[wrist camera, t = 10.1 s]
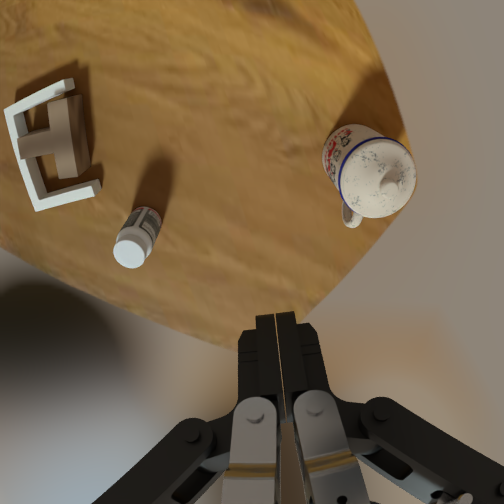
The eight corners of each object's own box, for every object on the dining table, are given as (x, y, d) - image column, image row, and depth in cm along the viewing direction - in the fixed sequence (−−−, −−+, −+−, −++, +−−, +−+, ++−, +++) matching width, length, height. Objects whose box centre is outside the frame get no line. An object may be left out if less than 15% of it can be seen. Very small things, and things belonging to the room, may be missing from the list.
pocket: (14, 106, 30) (3, 109, 28) (73, 77, 30) (63, 79, 28) (43, 204, 39) (35, 211, 37) (101, 188, 38) (94, 196, 36)
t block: (29, 107, 31) (13, 113, 27) (81, 94, 31) (66, 98, 28) (40, 173, 36) (25, 183, 33) (90, 166, 37) (78, 176, 33)
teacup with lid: (330, 112, 34) (365, 132, 25) (393, 133, 36) (441, 161, 26) (305, 199, 41) (325, 247, 31) (365, 213, 42) (398, 260, 32)
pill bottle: (129, 232, 42) (110, 267, 35) (130, 203, 40) (109, 234, 33) (160, 238, 43) (146, 274, 36) (163, 208, 41) (148, 241, 34)
